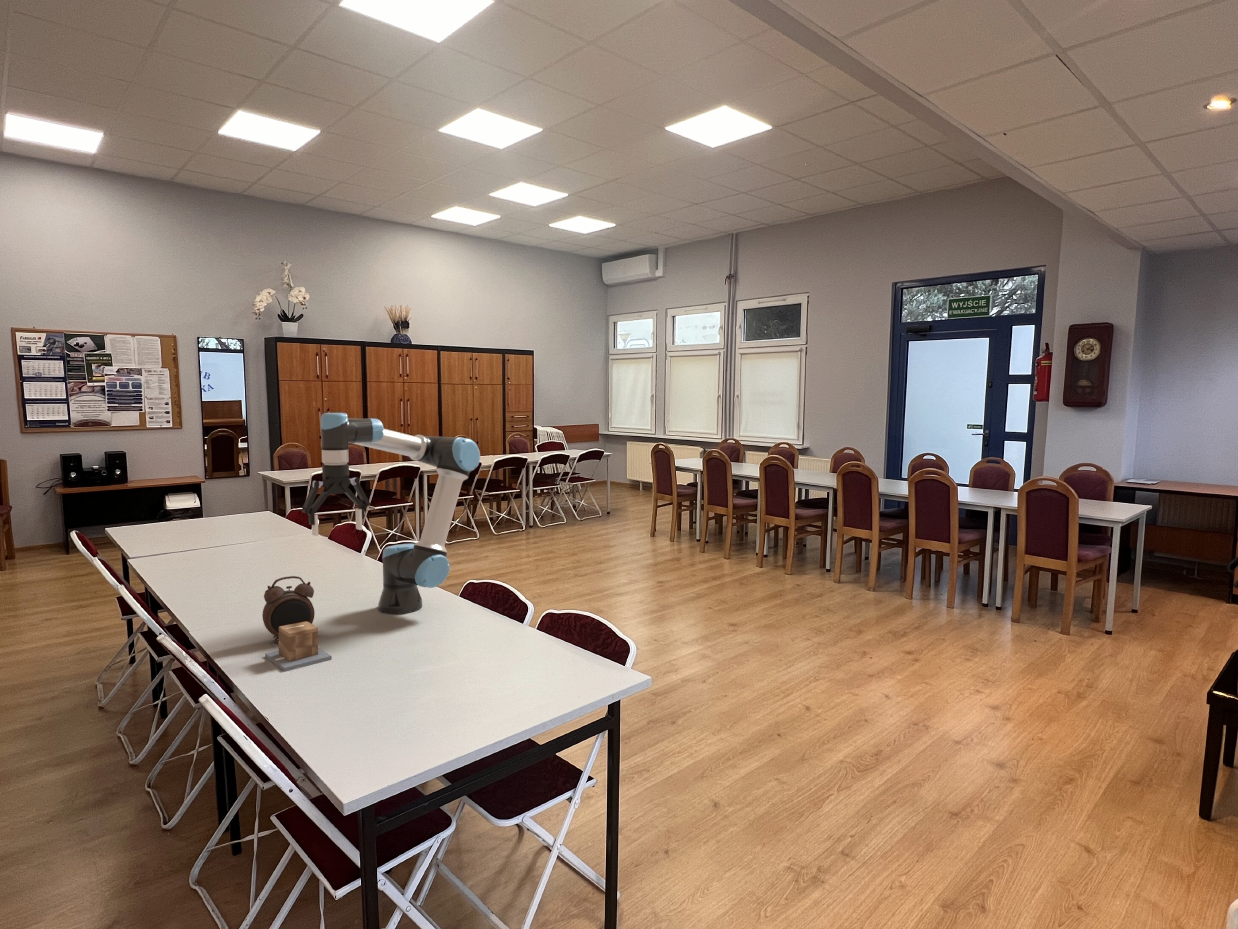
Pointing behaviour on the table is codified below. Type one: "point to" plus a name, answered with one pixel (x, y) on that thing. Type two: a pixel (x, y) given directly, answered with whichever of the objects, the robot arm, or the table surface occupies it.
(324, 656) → the plate
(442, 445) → the robot arm
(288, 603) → the alarm clock
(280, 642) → the tan drawer box
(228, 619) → the table surface
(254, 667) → the table surface
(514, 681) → the table surface
